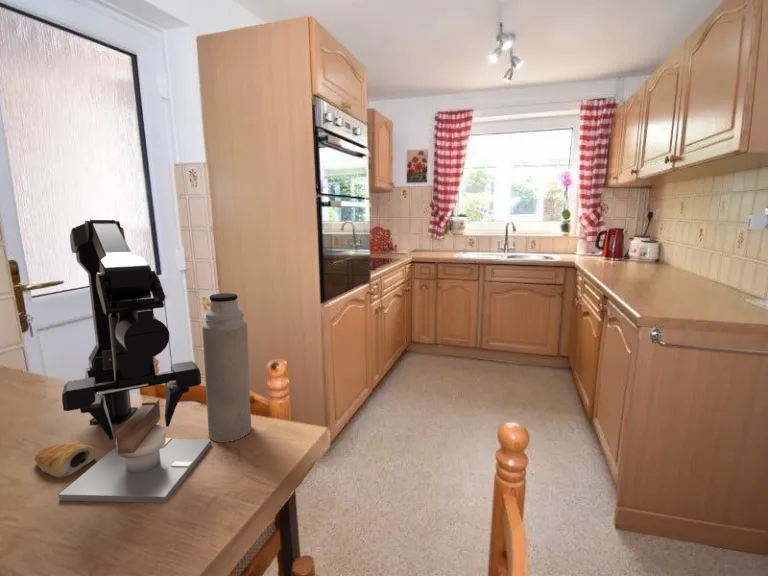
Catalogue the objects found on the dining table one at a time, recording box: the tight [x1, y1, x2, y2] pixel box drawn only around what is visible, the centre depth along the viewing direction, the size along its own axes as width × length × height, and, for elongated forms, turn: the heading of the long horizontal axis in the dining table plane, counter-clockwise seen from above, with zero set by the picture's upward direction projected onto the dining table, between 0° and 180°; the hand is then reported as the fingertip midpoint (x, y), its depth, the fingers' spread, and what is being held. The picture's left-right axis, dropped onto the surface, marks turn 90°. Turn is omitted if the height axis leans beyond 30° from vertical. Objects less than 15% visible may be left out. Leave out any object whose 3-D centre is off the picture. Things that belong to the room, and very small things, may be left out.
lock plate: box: [58, 437, 212, 504], centre depth 68 cm, size 16×16×4 cm
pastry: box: [34, 441, 97, 478], centre depth 70 cm, size 9×7×4 cm
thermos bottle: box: [201, 292, 252, 443], centre depth 79 cm, size 8×8×28 cm
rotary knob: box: [115, 398, 166, 458], centre depth 68 cm, size 7×11×6 cm, turn 9°
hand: (140, 432), depth 68 cm, fingers open, 8 cm apart
